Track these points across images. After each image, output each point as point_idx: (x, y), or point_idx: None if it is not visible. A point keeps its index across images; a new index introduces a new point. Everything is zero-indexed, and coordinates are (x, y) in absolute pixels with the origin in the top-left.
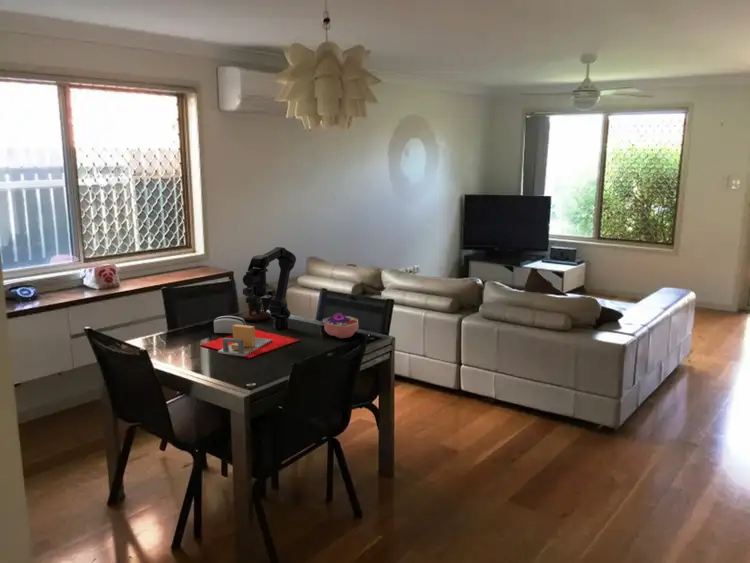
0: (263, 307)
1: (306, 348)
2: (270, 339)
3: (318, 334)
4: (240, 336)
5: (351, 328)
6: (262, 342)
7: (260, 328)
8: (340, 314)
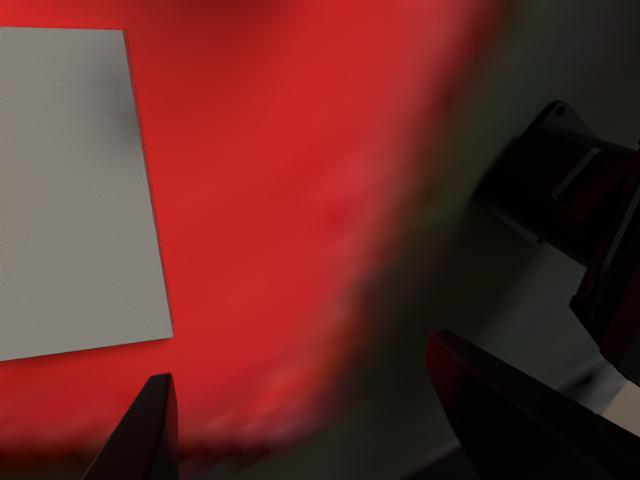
0: (494, 395)
1: None
2: (163, 329)
3: (433, 445)
4: None
5: None
6: (32, 327)
7: None
8: None
